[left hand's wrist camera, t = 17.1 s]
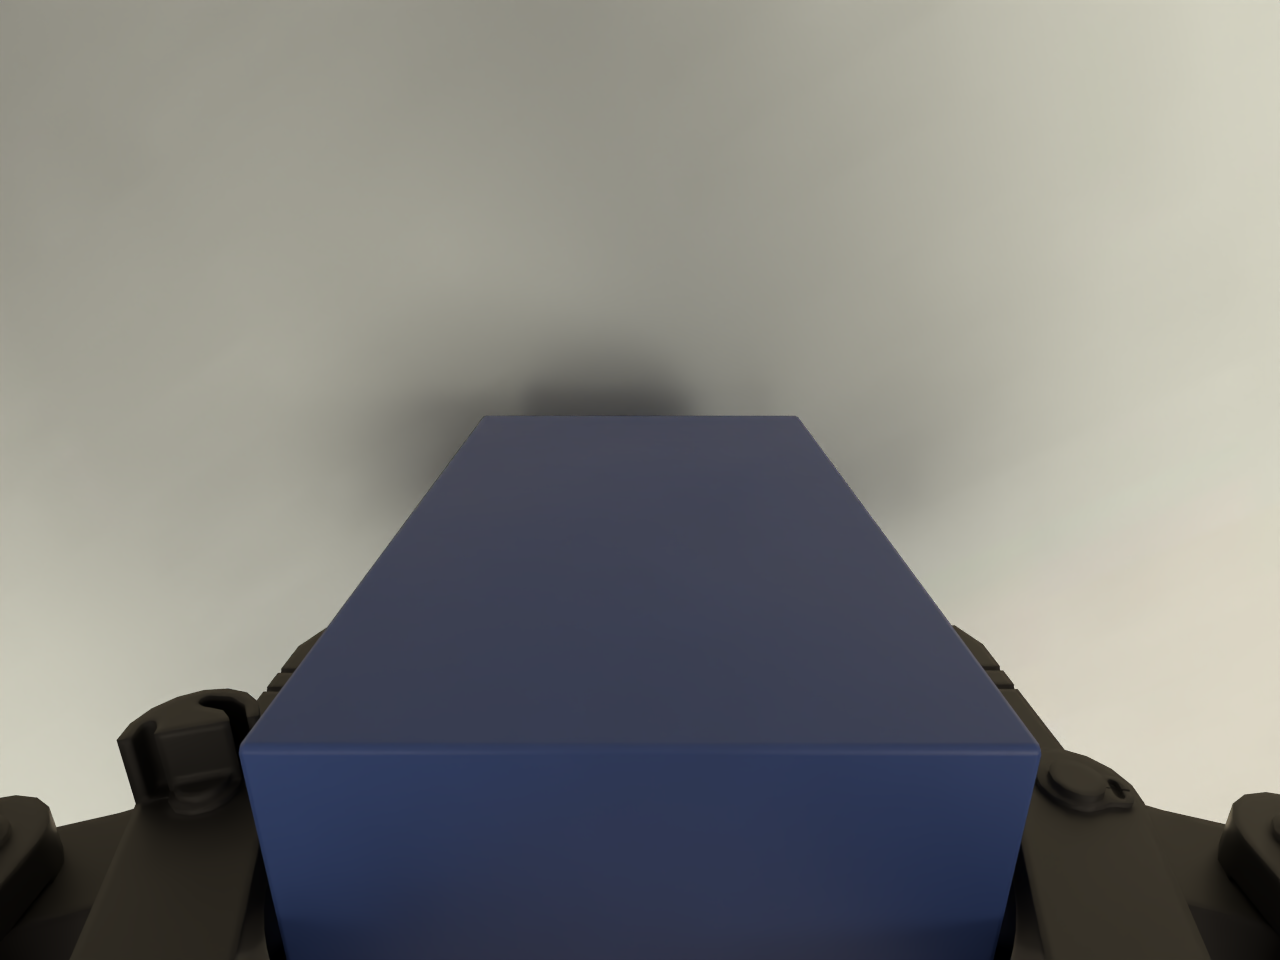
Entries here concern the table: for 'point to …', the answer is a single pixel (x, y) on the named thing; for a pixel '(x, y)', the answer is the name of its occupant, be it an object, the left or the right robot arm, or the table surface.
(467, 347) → the table surface
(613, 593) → the bar
